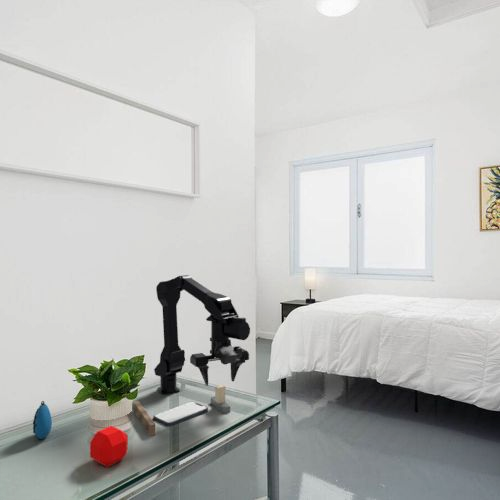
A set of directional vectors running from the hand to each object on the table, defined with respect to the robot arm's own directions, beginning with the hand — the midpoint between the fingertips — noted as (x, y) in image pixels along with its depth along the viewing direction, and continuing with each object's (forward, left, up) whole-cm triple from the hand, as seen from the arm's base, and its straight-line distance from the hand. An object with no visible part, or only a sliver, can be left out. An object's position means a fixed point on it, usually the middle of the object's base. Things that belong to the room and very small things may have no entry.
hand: (220, 383), depth 142 cm
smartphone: (0, -13, -9) cm, 16 cm away
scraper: (0, 0, -8) cm, 8 cm away
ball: (+19, -38, -8) cm, 43 cm away
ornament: (-3, -52, -8) cm, 53 cm away
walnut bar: (0, -25, -8) cm, 26 cm away
